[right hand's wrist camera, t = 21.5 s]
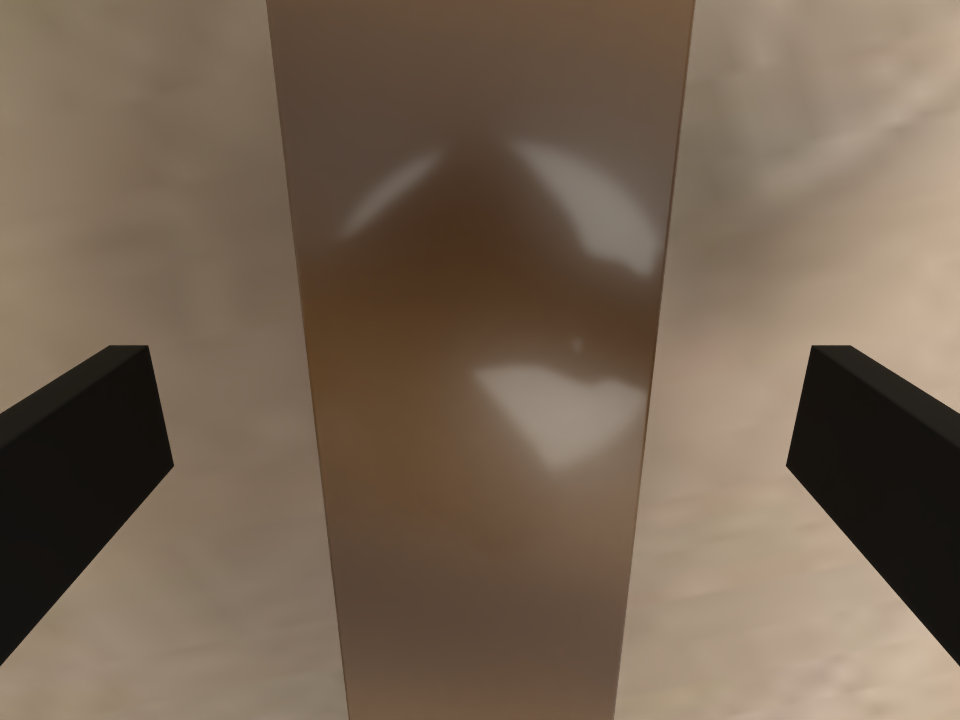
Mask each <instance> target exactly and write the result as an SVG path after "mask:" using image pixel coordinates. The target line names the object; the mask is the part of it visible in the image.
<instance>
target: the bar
mask: <svg viewBox="0 0 960 720" xmlns="http://www.w3.org/2000/svg"><path fill="white" fill-rule="evenodd" d="M266 4H267V12H268V21H269V30H270V38H271V47H272V56H273V65H274V73H275V82H276V91H277V99H278V108H279V117H280V125H281V134H282V143H283V152H284V160H285V169H286V178H287V186H288V195H289V204H290V212H291V221H292V230H293V238H294V247H295V256H296V265H297V273H298V282H299V291H300V299H301V308H302V317H303V325H304V334H305V343H306V352H307V360H308V369H309V378H310V386H311V395H312V404H313V412H314V421H315V430H316V438H317V447H318V456H319V465H320V473H321V482H322V491H323V499H324V508H325V517H326V525H327V534H328V543H329V552H330V560H331V569H332V578H333V586H334V595H335V604H336V612H337V621H338V630H339V638H340V647H341V656H342V665H343V673H344V682H345V691H346V699H347V708H348V717H349V720H614V713H615V704H616V695H617V687H618V678H619V669H620V660H621V651H622V643H623V634H624V625H625V616H626V607H627V599H628V590H629V581H630V572H631V563H632V555H633V546H634V537H635V528H636V519H637V510H638V502H639V493H640V484H641V475H642V466H643V458H644V449H645V440H646V431H647V422H648V414H649V405H650V396H651V387H652V378H653V370H654V361H655V352H656V343H657V334H658V326H659V317H660V308H661V299H662V290H663V282H664V273H665V264H666V255H667V246H668V238H669V229H670V220H671V211H672V202H673V194H674V185H675V176H676V167H677V158H678V149H679V141H680V132H681V123H682V114H683V105H684V97H685V88H686V79H687V70H688V61H689V53H690V44H691V35H692V26H693V17H694V9H695V0H266Z"/></svg>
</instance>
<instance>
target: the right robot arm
mask: <svg viewBox="0 0 960 720" xmlns="http://www.w3.org/2000/svg"><path fill="white" fill-rule="evenodd" d="M173 467H174V463H173V459H172V454H171V449H170V445H169V440H168V435H167V431H166V426H165V421H164V417H163V412H162V407H161V403H160V398H159V393H158V389H157V384H156V379H155V375H154V370H153V365H152V361H151V356H150V351H149V347H148V345H109V346H108V347H106V348H105V349H103V350H101V351H100V352H98V353H97V354H95V355H93V356H92V357H90V358H89V359H87V360H85V361H84V362H82V363H81V364H79V365H77V366H76V367H74V368H73V369H71V370H69V371H68V372H66V373H65V374H63V375H61V376H60V377H58V378H57V379H55V380H54V381H52V382H50V383H49V384H47V385H46V386H44V387H42V388H41V389H39V390H38V391H36V392H34V393H33V394H31V395H30V396H28V397H26V398H25V399H23V400H22V401H20V402H18V403H17V404H15V405H14V406H12V407H10V408H9V409H7V410H6V411H4V412H2V413H1V414H0V666H1V665H2V664H3V663H4V661H5V660H6V659H7V658H8V657H9V656H10V654H11V653H12V652H13V651H14V650H15V649H16V648H17V646H18V645H19V644H20V643H21V642H22V641H23V639H24V638H25V637H26V636H27V635H28V634H29V633H30V631H31V630H32V629H33V628H34V627H35V626H36V624H37V623H38V622H39V621H40V620H41V619H42V618H43V616H44V615H45V614H46V613H47V612H48V611H49V609H50V608H51V607H52V606H53V605H54V604H55V603H56V601H57V600H58V599H59V598H60V597H61V596H62V595H63V593H64V592H65V591H66V590H67V589H68V588H69V586H70V585H71V584H72V583H73V582H74V581H75V580H76V578H77V577H78V576H79V575H80V574H81V573H82V571H83V570H84V569H85V568H86V567H87V566H88V565H89V563H90V562H91V561H92V560H93V559H94V558H95V556H96V555H97V554H98V553H99V552H100V551H101V550H102V548H103V547H104V546H105V545H106V544H107V543H108V541H109V540H110V539H111V538H112V537H113V536H114V535H115V533H116V532H117V531H118V530H119V529H120V528H121V527H122V525H123V524H124V523H125V522H126V521H127V520H128V518H129V517H130V516H131V515H132V514H133V513H134V512H135V510H136V509H137V508H138V507H139V506H140V505H141V503H142V502H143V501H144V500H145V499H146V498H147V497H148V495H149V494H150V493H151V492H152V491H153V490H154V488H155V487H156V486H157V485H158V484H159V483H160V482H161V480H162V479H163V478H164V477H165V476H166V475H167V474H168V472H169V471H170V470H171V469H172V468H173ZM786 467H787V468H788V469H789V470H790V471H791V472H792V474H793V475H794V476H795V477H796V478H797V479H798V480H799V482H800V483H801V484H802V485H803V486H804V487H805V488H806V490H807V491H808V492H809V493H810V494H811V495H812V497H813V498H814V499H815V500H816V501H817V502H818V503H819V505H820V506H821V507H822V508H823V509H824V510H825V512H826V513H827V514H828V515H829V516H830V517H831V518H832V520H833V521H834V522H835V523H836V524H837V525H838V527H839V528H840V529H841V530H842V531H843V532H844V533H845V535H846V536H847V537H848V538H849V539H850V540H851V541H852V543H853V544H854V545H855V546H856V547H857V548H858V550H859V551H860V552H861V553H862V554H863V555H864V556H865V558H866V559H867V560H868V561H869V562H870V563H871V565H872V566H873V567H874V568H875V569H876V570H877V571H878V573H879V574H880V575H881V576H882V577H883V578H884V580H885V581H886V582H887V583H888V584H889V585H890V586H891V588H892V589H893V590H894V591H895V592H896V593H897V595H898V596H899V597H900V598H901V599H902V600H903V601H904V603H905V604H906V605H907V606H908V607H909V608H910V609H911V611H912V612H913V613H914V614H915V615H916V616H917V618H918V619H919V620H920V621H921V622H922V623H923V624H924V626H925V627H926V628H927V629H928V630H929V631H930V633H931V634H932V635H933V636H934V637H935V638H936V639H937V641H938V642H939V643H940V644H941V645H942V646H943V648H944V649H945V650H946V651H947V652H948V653H949V654H950V656H951V657H952V658H953V659H954V660H955V661H956V663H957V664H958V665H959V666H960V414H959V413H958V412H956V411H954V410H953V409H951V408H950V407H948V406H946V405H945V404H943V403H942V402H940V401H938V400H937V399H935V398H934V397H932V396H930V395H929V394H927V393H926V392H924V391H922V390H921V389H919V388H918V387H916V386H914V385H913V384H911V383H910V382H908V381H906V380H905V379H903V378H902V377H900V376H898V375H897V374H895V373H894V372H892V371H891V370H889V369H887V368H886V367H884V366H883V365H881V364H879V363H878V362H876V361H875V360H873V359H871V358H870V357H868V356H867V355H865V354H863V353H862V352H860V351H859V350H857V349H855V348H854V347H852V346H851V345H812V347H811V351H810V356H809V361H808V365H807V370H806V375H805V379H804V384H803V389H802V393H801V398H800V403H799V407H798V412H797V417H796V421H795V426H794V431H793V435H792V440H791V445H790V449H789V454H788V459H787V463H786Z"/></svg>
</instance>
